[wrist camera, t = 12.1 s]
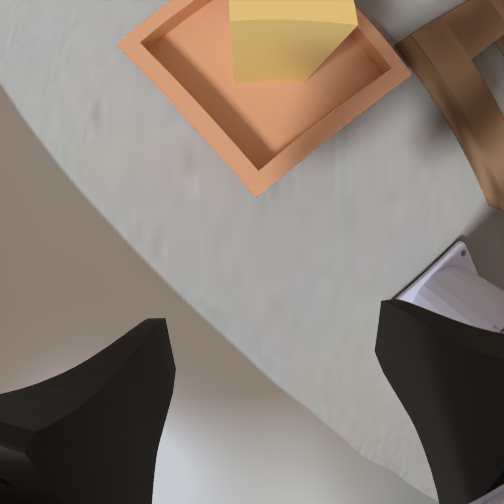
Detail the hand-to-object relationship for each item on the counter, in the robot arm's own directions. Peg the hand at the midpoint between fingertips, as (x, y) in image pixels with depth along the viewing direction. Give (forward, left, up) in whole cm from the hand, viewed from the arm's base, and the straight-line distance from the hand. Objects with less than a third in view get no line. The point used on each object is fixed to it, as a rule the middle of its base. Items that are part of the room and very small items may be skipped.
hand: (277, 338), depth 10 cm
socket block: (-2, -23, -10) cm, 25 cm away
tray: (+9, -8, -10) cm, 16 cm away
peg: (+9, -8, -9) cm, 15 cm away
